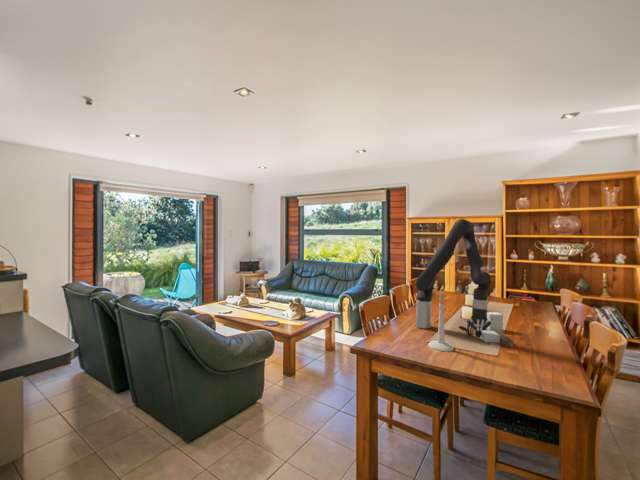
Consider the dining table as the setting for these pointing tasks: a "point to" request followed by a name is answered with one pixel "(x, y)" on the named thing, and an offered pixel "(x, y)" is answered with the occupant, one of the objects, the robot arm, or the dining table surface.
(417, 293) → the robot arm
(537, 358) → the dining table surface
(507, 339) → the brown long bar
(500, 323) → the small box
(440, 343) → the candlestick
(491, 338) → the block
